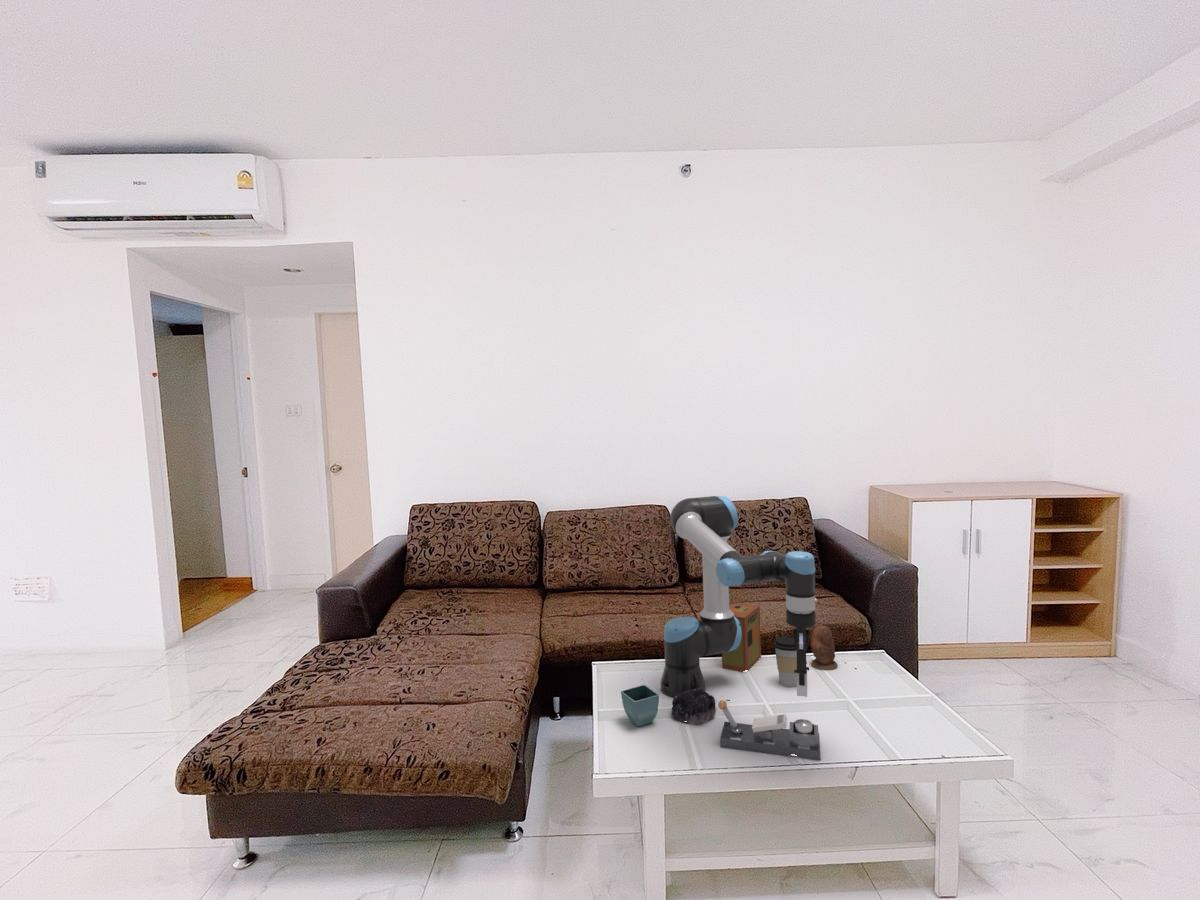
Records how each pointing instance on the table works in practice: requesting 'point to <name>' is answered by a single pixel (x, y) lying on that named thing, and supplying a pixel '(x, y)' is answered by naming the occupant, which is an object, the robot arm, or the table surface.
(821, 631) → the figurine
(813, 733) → the panel
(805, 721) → the button
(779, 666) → the coffee cup
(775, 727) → the plate
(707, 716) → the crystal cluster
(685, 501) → the robot arm
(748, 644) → the box
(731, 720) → the toggle
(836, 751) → the table surface
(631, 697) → the flower pot
